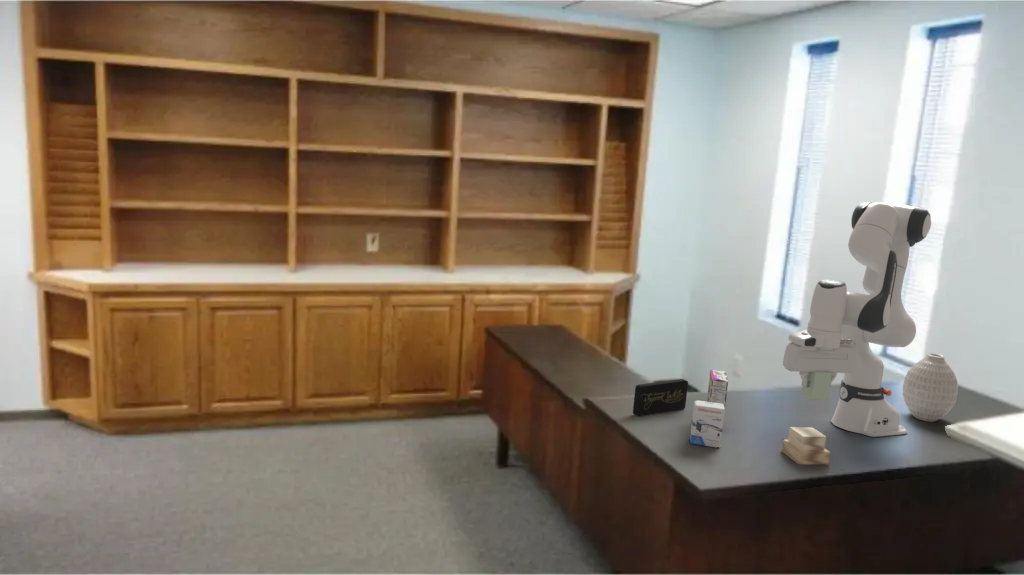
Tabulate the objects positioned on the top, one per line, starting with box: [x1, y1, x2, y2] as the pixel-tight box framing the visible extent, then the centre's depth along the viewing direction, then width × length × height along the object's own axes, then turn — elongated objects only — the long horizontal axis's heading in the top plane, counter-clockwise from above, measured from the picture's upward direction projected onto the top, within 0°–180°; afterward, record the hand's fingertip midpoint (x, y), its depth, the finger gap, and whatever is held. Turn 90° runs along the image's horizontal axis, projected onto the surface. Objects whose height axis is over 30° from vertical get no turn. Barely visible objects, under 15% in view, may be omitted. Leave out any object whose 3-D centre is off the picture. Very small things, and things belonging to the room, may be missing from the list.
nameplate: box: [632, 378, 689, 417], centre depth 238 cm, size 21×2×10 cm, turn 121°
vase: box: [902, 352, 959, 423], centre depth 250 cm, size 16×16×22 cm
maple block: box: [787, 426, 827, 450], centre depth 208 cm, size 7×7×4 cm
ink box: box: [689, 399, 726, 449], centre depth 213 cm, size 9×5×12 cm, turn 77°
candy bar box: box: [706, 369, 729, 408], centre depth 228 cm, size 11×5×16 cm, turn 168°
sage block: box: [801, 372, 832, 402], centre depth 205 cm, size 5×5×8 cm
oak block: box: [781, 438, 831, 465], centre depth 208 cm, size 9×9×4 cm
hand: (815, 386), depth 206 cm, fingers closed on sage block, 5 cm apart
